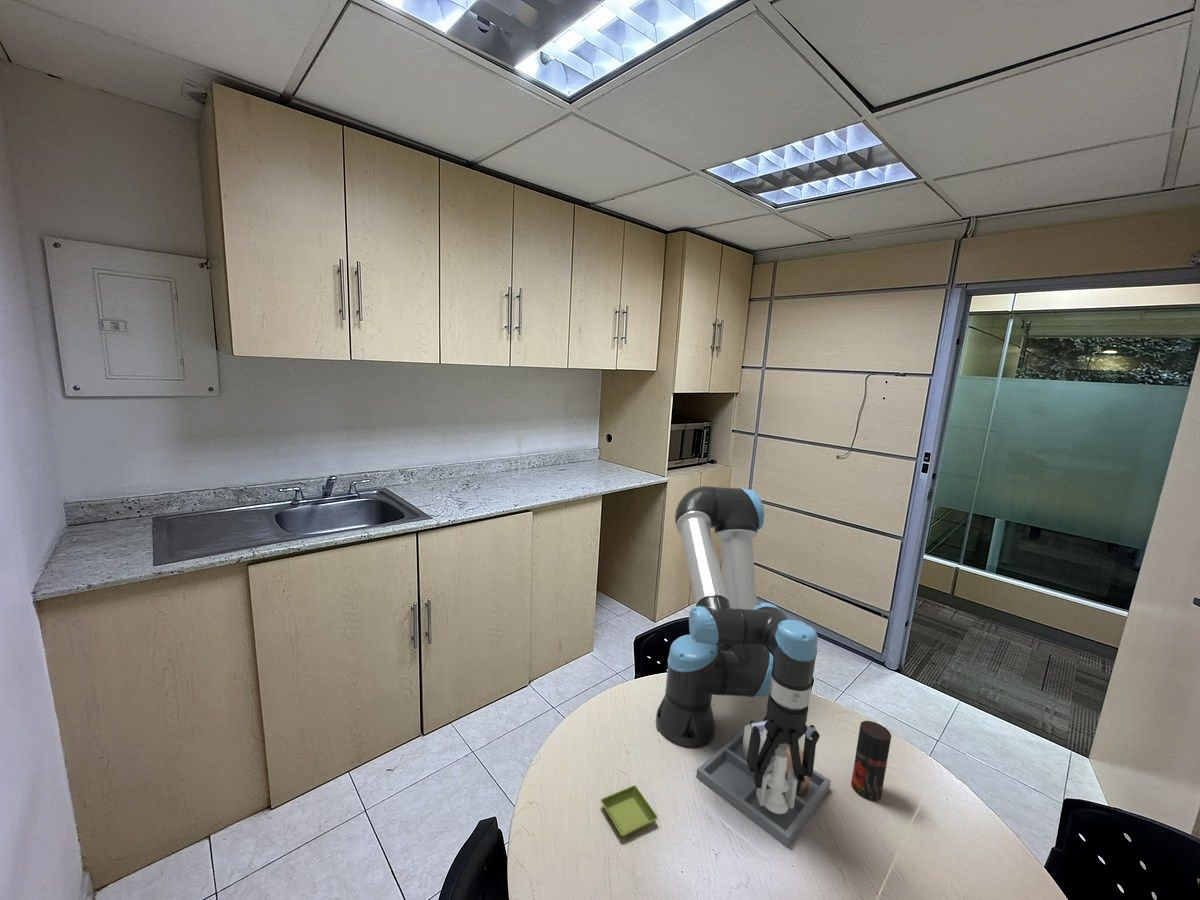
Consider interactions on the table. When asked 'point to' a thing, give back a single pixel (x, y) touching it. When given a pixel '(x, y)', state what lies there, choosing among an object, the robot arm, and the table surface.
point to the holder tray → (739, 789)
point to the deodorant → (870, 760)
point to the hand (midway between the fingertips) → (774, 801)
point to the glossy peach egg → (804, 784)
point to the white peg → (777, 784)
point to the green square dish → (628, 810)
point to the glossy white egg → (747, 739)
